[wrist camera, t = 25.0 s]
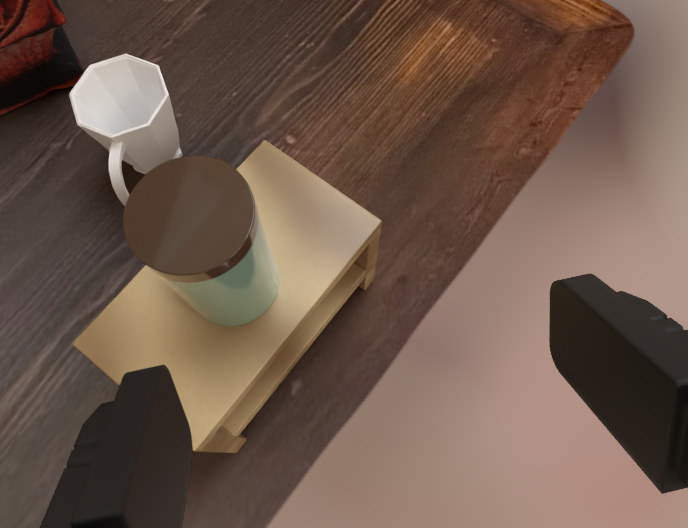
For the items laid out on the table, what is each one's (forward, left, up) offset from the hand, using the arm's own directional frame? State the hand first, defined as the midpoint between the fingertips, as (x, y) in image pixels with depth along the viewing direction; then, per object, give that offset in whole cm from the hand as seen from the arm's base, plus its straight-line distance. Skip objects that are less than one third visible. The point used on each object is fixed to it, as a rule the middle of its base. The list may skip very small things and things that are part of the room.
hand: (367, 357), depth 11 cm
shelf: (+4, -9, -29) cm, 30 cm away
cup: (+9, -25, -29) cm, 39 cm away
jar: (+4, -9, -18) cm, 20 cm away
